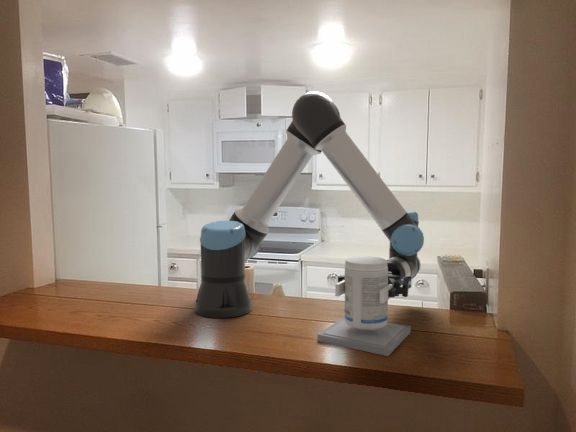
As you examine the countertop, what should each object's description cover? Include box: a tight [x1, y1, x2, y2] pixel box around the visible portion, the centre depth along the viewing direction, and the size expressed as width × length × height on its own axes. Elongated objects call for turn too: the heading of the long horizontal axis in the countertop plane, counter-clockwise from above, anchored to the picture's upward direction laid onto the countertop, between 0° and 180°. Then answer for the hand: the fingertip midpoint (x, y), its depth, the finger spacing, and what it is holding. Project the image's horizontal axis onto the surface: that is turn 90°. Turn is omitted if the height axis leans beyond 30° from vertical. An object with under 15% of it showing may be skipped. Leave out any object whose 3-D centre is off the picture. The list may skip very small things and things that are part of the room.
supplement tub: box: [344, 255, 389, 330], centre depth 101 cm, size 10×10×15 cm
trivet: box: [316, 316, 411, 357], centre depth 102 cm, size 16×16×2 cm
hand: (358, 293), depth 97 cm, fingers closed on supplement tub, 9 cm apart
